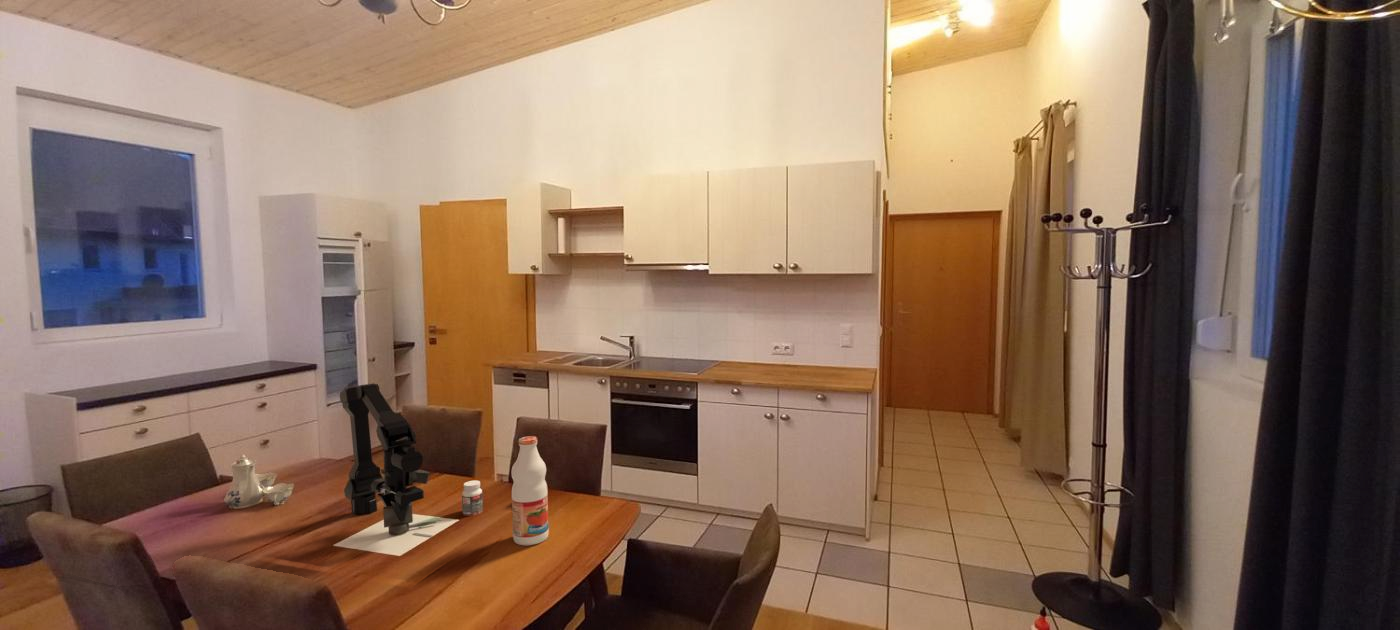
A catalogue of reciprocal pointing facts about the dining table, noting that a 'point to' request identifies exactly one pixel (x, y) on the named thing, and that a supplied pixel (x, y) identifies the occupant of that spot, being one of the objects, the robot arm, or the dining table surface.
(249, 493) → the chinaware
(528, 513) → the fruit juice
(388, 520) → the dark grey angled piece
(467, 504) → the pill bottle
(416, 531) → the dial plate
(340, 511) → the dining table surface
